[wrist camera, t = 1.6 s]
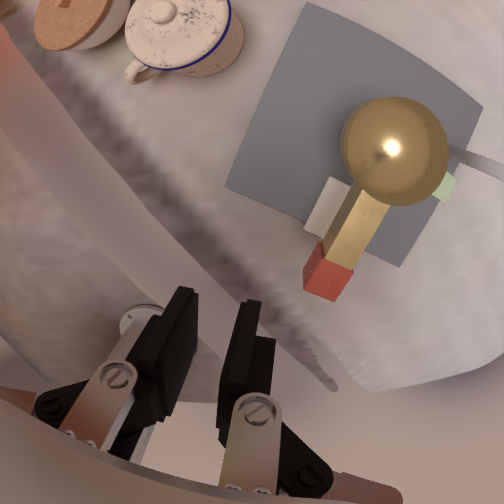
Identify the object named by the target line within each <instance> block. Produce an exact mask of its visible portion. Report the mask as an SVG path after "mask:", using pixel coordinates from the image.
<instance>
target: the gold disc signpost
mask: <svg viewBox="0 0 504 504" xmlns="http://www.w3.org/2000/svg"><path fill="white" fill-rule="evenodd" d="M340 151H341V156H342V160H343V162H344V164H345V167H346V168H347V170H348V172H349V173H350V174H351V176H352V177H353V178H354V179H355V180H354V182H353V184H352V186H351V188H350V189H349V191H348V193H347V195H346V197H345V199H344V201H343V203H342V205H341V207H340V208H339V210H338V212H337V214H336V216H335V218H334V220H333V221H332V223H331V225H330V227H329V229H328V231H327V232H326V234H325V236H324V238H323V240H322V241H318V243H317V245H316V247H315V249H314V250H313V252H312V254H311V256H310V258H309V259H308V261H307V263H306V265H305V266H304V268H303V290H306V291H308V292H311V293H313V294H315V295H318V296H320V297H323V298H325V299H327V300H330V301H332V302H335V301H336V299H337V298H338V296H339V295H340V293H341V292H342V290H343V289H344V287H345V285H346V284H347V282H348V281H349V279H350V278H351V276H352V275H353V273H354V272H353V268H354V266H355V265H356V263H357V261H358V260H359V258H360V256H361V255H362V253H363V252H364V250H365V248H366V247H367V245H368V243H369V242H370V240H371V238H372V237H373V235H374V233H375V232H376V230H377V228H378V226H379V225H380V223H381V221H382V219H383V218H384V216H385V214H386V212H387V211H388V209H389V207H390V205H392V206H409V205H413V204H416V203H418V202H421V201H423V200H424V199H426V198H427V197H429V196H430V195H431V194H432V193H433V192H434V191H435V190H436V189H437V188H438V186H439V185H440V184H441V182H442V180H443V178H444V176H445V174H446V170H447V167H448V162H449V145H448V140H447V136H446V133H445V131H444V129H443V126H442V125H441V123H440V121H439V120H438V118H437V117H436V116H435V115H434V114H433V113H432V112H431V111H430V110H429V109H428V108H427V107H426V106H424V105H423V104H421V103H419V102H417V101H415V100H412V99H409V98H405V97H387V98H378V99H373V100H369V101H367V102H364V103H363V104H361V105H359V106H358V107H356V108H355V109H354V110H353V111H352V112H351V113H350V115H349V116H348V117H347V119H346V121H345V123H344V125H343V128H342V131H341V135H340Z"/></svg>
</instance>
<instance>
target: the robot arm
mask: <svg viewBox="0 0 504 504" xmlns="http://www.w3.org/2000/svg"><path fill="white" fill-rule="evenodd" d="M261 303H262V301H256V300H251V299H247V303H246V302H241V304H240V308H239V311H238V315H237V319H236V322H235V326H234V330H233V333H232V337H231V340H230V344H229V348H228V351H227V355H226V358H225V362H224V366H223V369H222V373H221V378H220V383H219V394H218V406H217V418H216V428H218V429H219V438H218V440H219V441H220V443H221V444H222V445H223V446H224V448H225V454H224V459H223V464H222V469H221V474H220V479H219V484H218V486H213V485H208V484H204V483H200V482H196V481H191V480H187V479H184V478H180V477H176V476H173V475H169V474H165V473H162V472H159V471H156V470H153V469H150V468H147V467H144V466H141V465H140V464H141V461H142V457H143V455H144V452H145V449H146V447H147V444H148V442H149V439H150V436H151V434H152V432H153V429H154V427H155V424H156V421H159V422H164V419H165V417H166V416H171V414H172V412H173V409H174V407H175V404H176V401H177V399H178V396H179V394H180V391H181V388H182V386H183V383H184V381H185V378H186V375H187V373H188V370H189V368H190V365H191V362H192V361H193V359H194V357H195V354H196V350H197V331H198V293H194V289H193V288H188V287H182V286H179V287H178V288H177V290H176V292H175V293H174V295H173V297H172V298H171V300H170V302H169V303H168V305H167V307H166V308H165V309H162V308H159V307H156V306H151V305H138V306H134V307H132V308H130V309H129V310H128V311H126V312H125V314H124V315H123V316H122V318H121V321H120V325H119V328H120V334H121V338H120V339H119V341H118V342H117V344H116V345H115V347H114V348H113V350H112V351H111V353H110V354H109V356H108V358H107V359H106V361H105V362H104V363H103V364H101V365H100V366H99V367H98V368H97V370H96V371H95V373H94V374H93V376H92V377H91V379H90V380H86V381H83V382H79V383H76V384H72V385H69V386H65V387H61V388H58V389H54V390H50V391H47V392H44V393H42V394H41V395H38V394H37V392H32V391H26V390H19V389H14V388H8V387H3V386H0V504H403V498H402V495H401V493H400V492H399V491H398V490H397V489H396V488H393V487H391V486H388V485H384V484H380V483H377V482H374V481H370V480H367V479H364V478H360V477H357V476H354V475H351V474H348V473H345V472H342V473H338V472H335V471H332V470H331V468H330V467H329V466H328V464H327V463H326V462H324V461H323V460H322V459H321V458H320V457H319V456H318V455H317V454H316V453H315V452H313V451H312V450H311V449H310V448H309V447H308V446H307V445H306V444H305V443H304V442H303V441H302V440H301V439H300V438H299V437H298V436H297V435H296V434H295V433H294V432H293V431H291V430H290V429H289V428H288V427H287V426H286V425H285V424H284V423H283V422H282V411H281V407H280V405H279V403H278V402H277V401H276V400H275V399H274V398H272V397H271V396H270V389H271V381H272V371H273V363H274V353H275V344H276V339H273V338H267V337H261V336H256V331H257V325H258V320H259V314H260V309H261Z"/></svg>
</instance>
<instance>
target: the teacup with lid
mask: <svg viewBox="0 0 504 504" xmlns="http://www.w3.org/2000/svg"><path fill="white" fill-rule="evenodd" d="M125 38H126V42H127V45H128V48H129V49H130V51H131V53H132V54H133V55H134V57H135V59H134V60H133V61H132V62H131V63H130V64H129V65H128V67H127V68H126V70H125V73H124V78H125V80H126V81H127V82H128V83H129V84H133V85H135V84H140V83H143V82H146V81H148V80H150V79H152V78H153V77H155V76H156V75H157V74H159V73H160V72H161V71H162V70H167V71H168V70H172V71H176V72H179V73H183V74H186V75H190V76H208V75H212V74H215V73H218V72H220V71H222V70H224V69H225V68H227V67H228V66H229V65H230V64H232V63H233V62H234V60H235V59H236V58H237V57H238V55H239V53H240V51H241V49H242V46H243V42H244V30H243V26H242V24H241V22H240V20H239V18H238V17H237V15H236V14H235V12H234V11H233V9H232V8H231V5H230V1H229V0H136V1H135V3H134V4H133V6H132V7H131V9H130V11H129V14H128V16H127V20H126V24H125ZM145 65H146V66H148V67H149V68H147V69H145V70H144V71H141V72H139V71H140V70H141V69H142V68H143V67H144V66H145ZM138 72H139V73H138Z"/></svg>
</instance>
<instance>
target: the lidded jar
mask: <svg viewBox="0 0 504 504" xmlns="http://www.w3.org/2000/svg"><path fill="white" fill-rule="evenodd" d="M129 9H130V0H41V2H40V4H39V6H38V9H37V12H36V16H35V23H34V30H35V36H36V39H37V41H38V42H39V44H40V45H41V46H42V47H43V48H45V49H47V50H51V51H81V50H86V49H90V48H93V47H96V46H98V45H100V44H102V43H104V42H105V41H107V40H108V39H110V38H111V37H112V36H113V35H114V34H115V33H116V32H117V31H118V30H119V29H120V28H121V26H122V25H123V23H124V22H125V20H126V18H127V16H128V13H129Z"/></svg>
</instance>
